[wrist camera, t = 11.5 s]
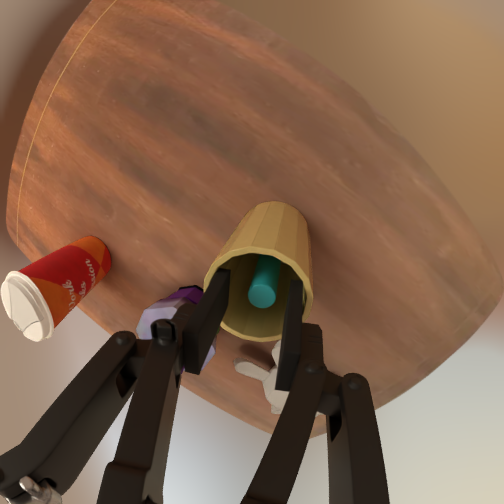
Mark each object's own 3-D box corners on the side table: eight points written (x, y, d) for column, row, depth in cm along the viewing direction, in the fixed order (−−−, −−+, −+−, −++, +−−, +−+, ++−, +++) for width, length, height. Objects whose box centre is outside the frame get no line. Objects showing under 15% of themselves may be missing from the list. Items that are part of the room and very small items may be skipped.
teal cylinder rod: (266, 226, 28) (248, 282, 18) (285, 229, 28) (277, 286, 18) (264, 243, 29) (246, 306, 19) (282, 246, 29) (274, 310, 19)
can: (243, 196, 28) (204, 239, 17) (314, 206, 27) (322, 257, 16) (237, 260, 31) (202, 331, 20) (302, 271, 30) (301, 348, 19)
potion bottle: (246, 317, 33) (220, 396, 22) (193, 343, 36) (158, 414, 25) (197, 258, 31) (147, 323, 20) (148, 293, 34) (96, 355, 23)
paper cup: (103, 293, 36) (39, 356, 23) (66, 254, 34) (-5, 303, 22) (128, 257, 33) (53, 323, 20) (87, 214, 32) (2, 260, 19)
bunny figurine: (289, 433, 35) (220, 382, 30) (290, 405, 40) (227, 349, 35) (352, 414, 32) (295, 353, 27) (348, 384, 36) (294, 319, 31)
